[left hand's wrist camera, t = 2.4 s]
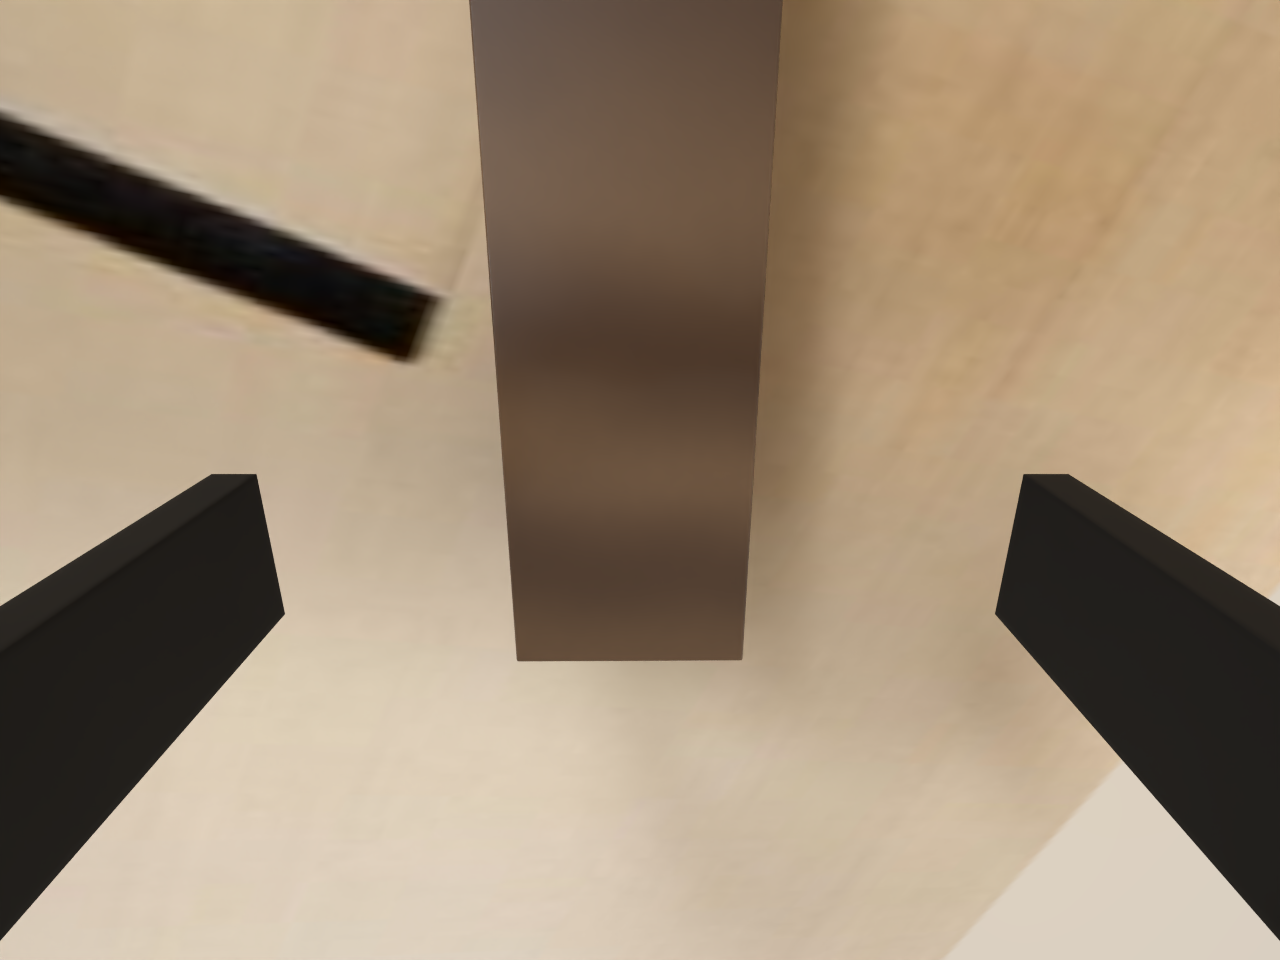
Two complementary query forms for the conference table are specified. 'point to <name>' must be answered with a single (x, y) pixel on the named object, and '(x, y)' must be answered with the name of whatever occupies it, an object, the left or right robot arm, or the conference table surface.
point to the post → (627, 312)
